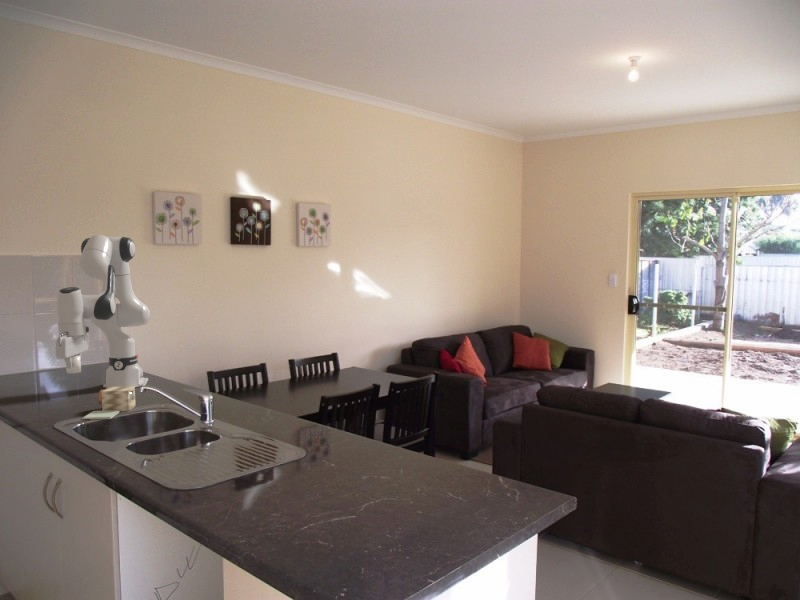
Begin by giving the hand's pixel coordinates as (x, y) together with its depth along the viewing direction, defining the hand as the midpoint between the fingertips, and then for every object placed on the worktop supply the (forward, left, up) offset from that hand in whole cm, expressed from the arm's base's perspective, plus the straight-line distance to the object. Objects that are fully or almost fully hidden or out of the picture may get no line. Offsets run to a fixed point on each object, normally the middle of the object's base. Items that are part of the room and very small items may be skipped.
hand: (73, 366), depth 237 cm
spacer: (0, 0, -2) cm, 2 cm away
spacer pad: (+1, +10, -19) cm, 22 cm away
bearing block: (-9, +13, -19) cm, 25 cm away
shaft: (-9, +12, -17) cm, 23 cm away
